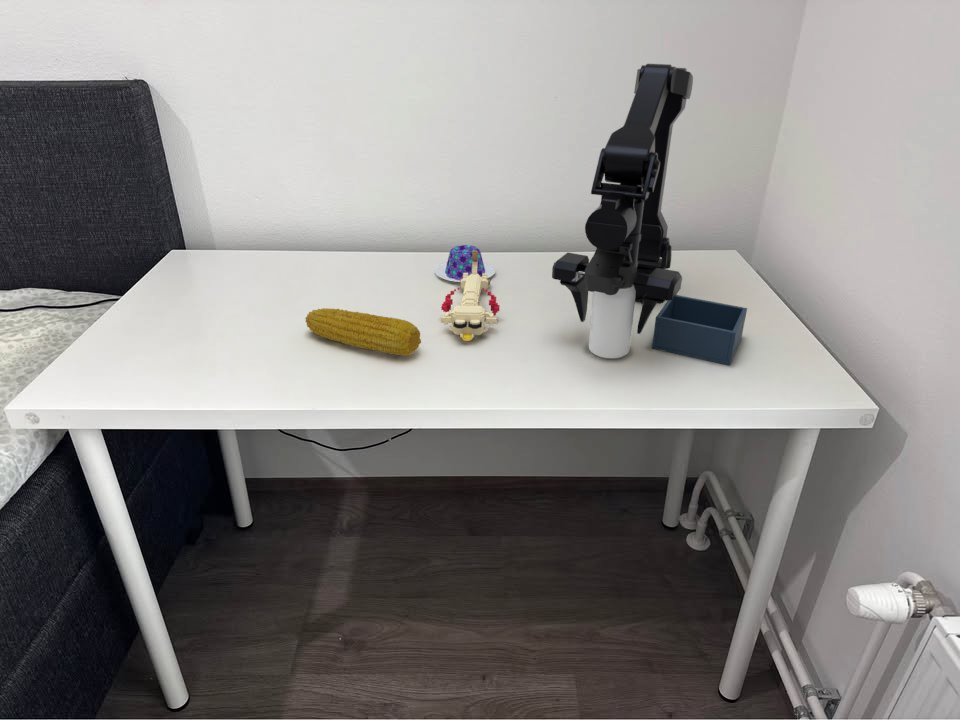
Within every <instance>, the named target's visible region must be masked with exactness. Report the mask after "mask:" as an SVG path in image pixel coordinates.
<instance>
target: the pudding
mask: <svg viewBox="0 0 960 720" xmlns="http://www.w3.org/2000/svg"><path fill="white" fill-rule="evenodd" d="M472 251H477V253H478V265H477V274H479V275H480V277H482V273H487V279H490V278H491V277H493V276H494V275H495V274H496V269H495V267H494V266H493V265H491V264H489V263H488V262H485V261H484V260H483V256H482V253H481V250H480V248H478V247H476V246H474V245H468V244H462V245H456V246H454V247H451V249H450V250H449V253H448V258H447V261H446V262H444V263H441V264H439V265H438V266H437V267H436V268H435V270H434V271H435V274H436V276H437V277H439V278H441V279H443V280H446V281H449V282H450V281H451V282H456V283H460V279H463V273H468V276H469V275H471V274H472V262H473V260H472Z"/></svg>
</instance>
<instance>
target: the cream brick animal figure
mask: <svg viewBox="0 0 960 720" xmlns="http://www.w3.org/2000/svg"><path fill="white" fill-rule="evenodd" d="M472 260H473V262H472V274H471V275H469V276H468V273H463V279H460V282H459V286H460V287H457V289H456V288H454V289H453V290H450V293H446V295H445V297H444V299H445V300H444V301H443V302H442V304H441V306H440V308H441V311H443V312H444V315H441V316H440V324H443V325H446V326H447V325H449V324H451V325H450V326H449V331H451V332H452V333H453V334H455V335H456V336H460V338H462V341H464V342H466V341H467V342H470V341H472V340H473V338H475V336H480V335H483V334H484V333H486V332H488V329H489V327H490V326H494V325H498V317H494V316H496V315H497V313H499V312H500V305H501V304H499V303H498V302H497V296H495V294H492V291H488V289H489V286H491V279H490V278H487V273H482V277H480V275H479V274H477V265H478V253H477V251H472ZM460 289H462V290H463V292H462V299H461V305H460V304H458V305H455V306H454V307H453V309H452V305H453V303H454V301H453V298H452V296H453V295H455V292H457V291H459V290H460ZM482 291H485V293H486V294H487V296H488V297H490V299H489V300H488V306H490V311H491V312H489V311H485V307H483V306H482V305H480V299H481V293H482ZM485 324H486V325H489V327H488V326H485Z"/></svg>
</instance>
